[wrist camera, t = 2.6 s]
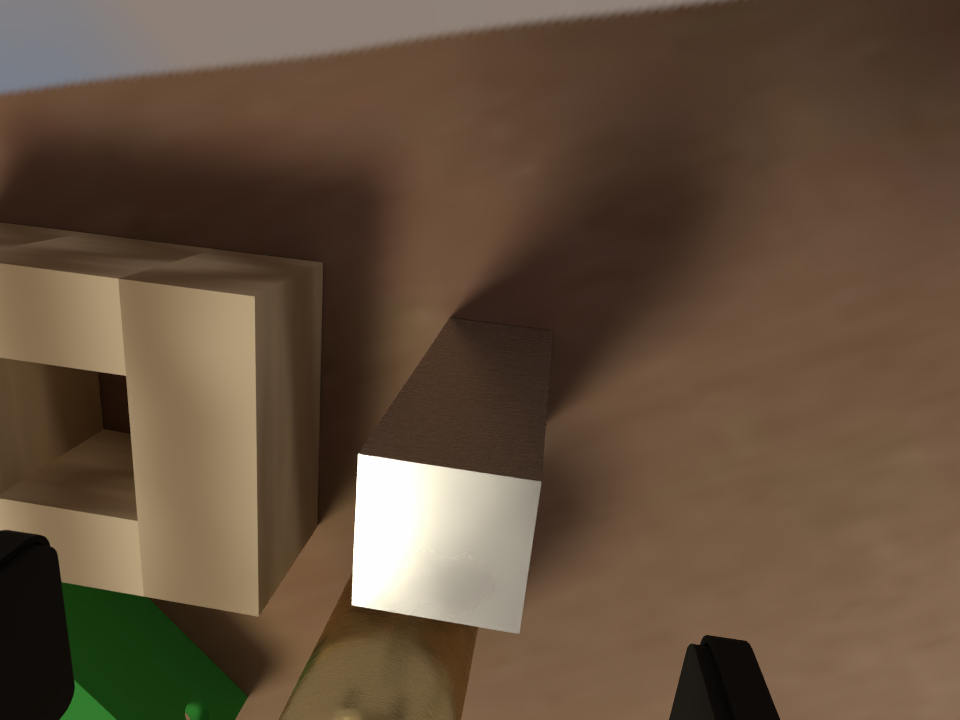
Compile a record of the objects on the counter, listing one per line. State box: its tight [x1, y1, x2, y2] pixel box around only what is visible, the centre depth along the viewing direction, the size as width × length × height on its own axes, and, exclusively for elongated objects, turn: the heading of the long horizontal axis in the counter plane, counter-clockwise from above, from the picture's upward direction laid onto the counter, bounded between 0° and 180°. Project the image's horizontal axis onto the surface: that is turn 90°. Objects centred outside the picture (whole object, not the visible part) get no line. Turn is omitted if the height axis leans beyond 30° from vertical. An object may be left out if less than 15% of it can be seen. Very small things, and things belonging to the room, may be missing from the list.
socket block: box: [0, 222, 323, 617], centre depth 21 cm, size 12×10×5 cm
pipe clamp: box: [60, 582, 248, 720], centre depth 26 cm, size 11×4×5 cm, turn 39°
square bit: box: [352, 318, 553, 634], centre depth 17 cm, size 3×3×10 cm
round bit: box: [279, 572, 478, 720], centre depth 21 cm, size 5×5×8 cm
